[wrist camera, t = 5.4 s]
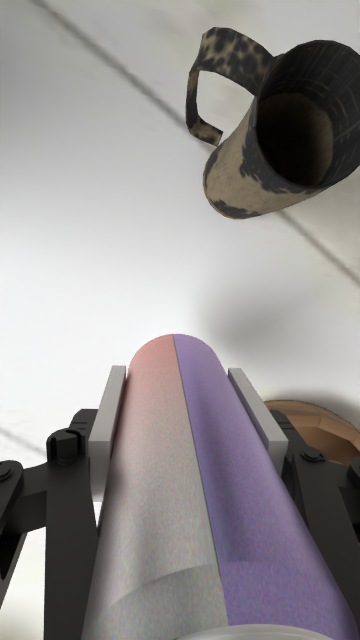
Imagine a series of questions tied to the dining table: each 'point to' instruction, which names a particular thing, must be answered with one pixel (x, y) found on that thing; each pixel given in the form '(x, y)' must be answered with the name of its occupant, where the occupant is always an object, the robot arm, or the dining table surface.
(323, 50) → the mug
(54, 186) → the dining table surface
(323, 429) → the tray
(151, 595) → the beverage can
